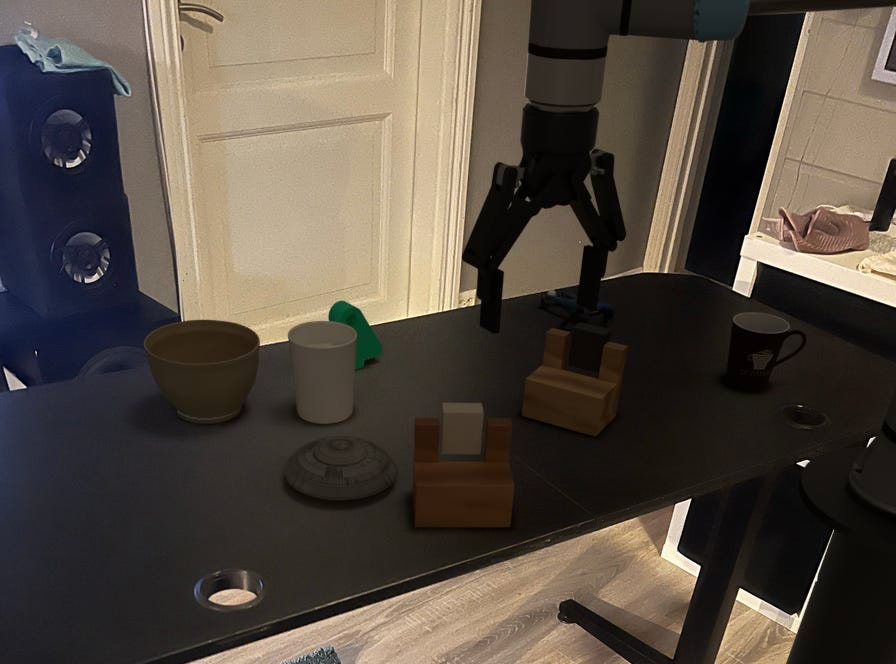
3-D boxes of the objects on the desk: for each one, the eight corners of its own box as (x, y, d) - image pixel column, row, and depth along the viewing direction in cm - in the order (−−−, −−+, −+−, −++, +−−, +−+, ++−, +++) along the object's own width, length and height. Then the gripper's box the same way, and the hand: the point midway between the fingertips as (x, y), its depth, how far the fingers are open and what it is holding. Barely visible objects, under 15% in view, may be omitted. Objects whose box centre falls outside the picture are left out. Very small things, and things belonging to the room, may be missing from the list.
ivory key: (440, 444, 125) (442, 402, 122) (478, 444, 125) (481, 402, 122) (441, 454, 123) (443, 412, 119) (480, 454, 123) (483, 412, 120)
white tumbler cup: (332, 433, 140) (330, 353, 132) (278, 415, 144) (273, 336, 136) (370, 408, 146) (370, 330, 139) (318, 391, 150) (315, 315, 143)
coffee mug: (714, 388, 155) (729, 327, 149) (722, 368, 161) (736, 308, 155) (789, 402, 152) (807, 340, 146) (794, 381, 158) (812, 321, 152)
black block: (574, 359, 147) (580, 321, 144) (605, 366, 145) (611, 329, 142) (567, 365, 146) (572, 327, 142) (598, 373, 144) (604, 335, 140)
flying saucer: (359, 521, 122) (358, 483, 118) (262, 488, 127) (258, 451, 124) (417, 471, 132) (418, 434, 129) (325, 442, 137) (324, 407, 134)
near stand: (412, 494, 127) (414, 417, 120) (503, 494, 128) (510, 418, 121) (415, 527, 121) (417, 448, 114) (510, 527, 122) (518, 449, 115)
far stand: (543, 396, 151) (551, 327, 144) (615, 416, 147) (628, 346, 140) (521, 416, 146) (528, 345, 139) (595, 436, 141) (607, 365, 134)
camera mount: (355, 346, 164) (355, 285, 158) (382, 361, 159) (382, 299, 153) (295, 362, 158) (292, 299, 152) (321, 379, 154) (318, 315, 147)
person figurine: (525, 318, 180) (587, 338, 167) (525, 293, 178) (588, 311, 165) (571, 308, 185) (635, 327, 172) (572, 283, 182) (637, 300, 169)
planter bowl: (234, 444, 136) (227, 371, 129) (133, 424, 140) (121, 352, 133) (282, 397, 148) (278, 328, 141) (188, 380, 152) (179, 312, 145)
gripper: (632, 87, 102) (603, 288, 116) (433, 108, 92) (426, 327, 105) (682, 100, 97) (645, 309, 111) (478, 124, 87) (465, 351, 100)
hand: (539, 318), depth 108 cm, fingers open, 13 cm apart
